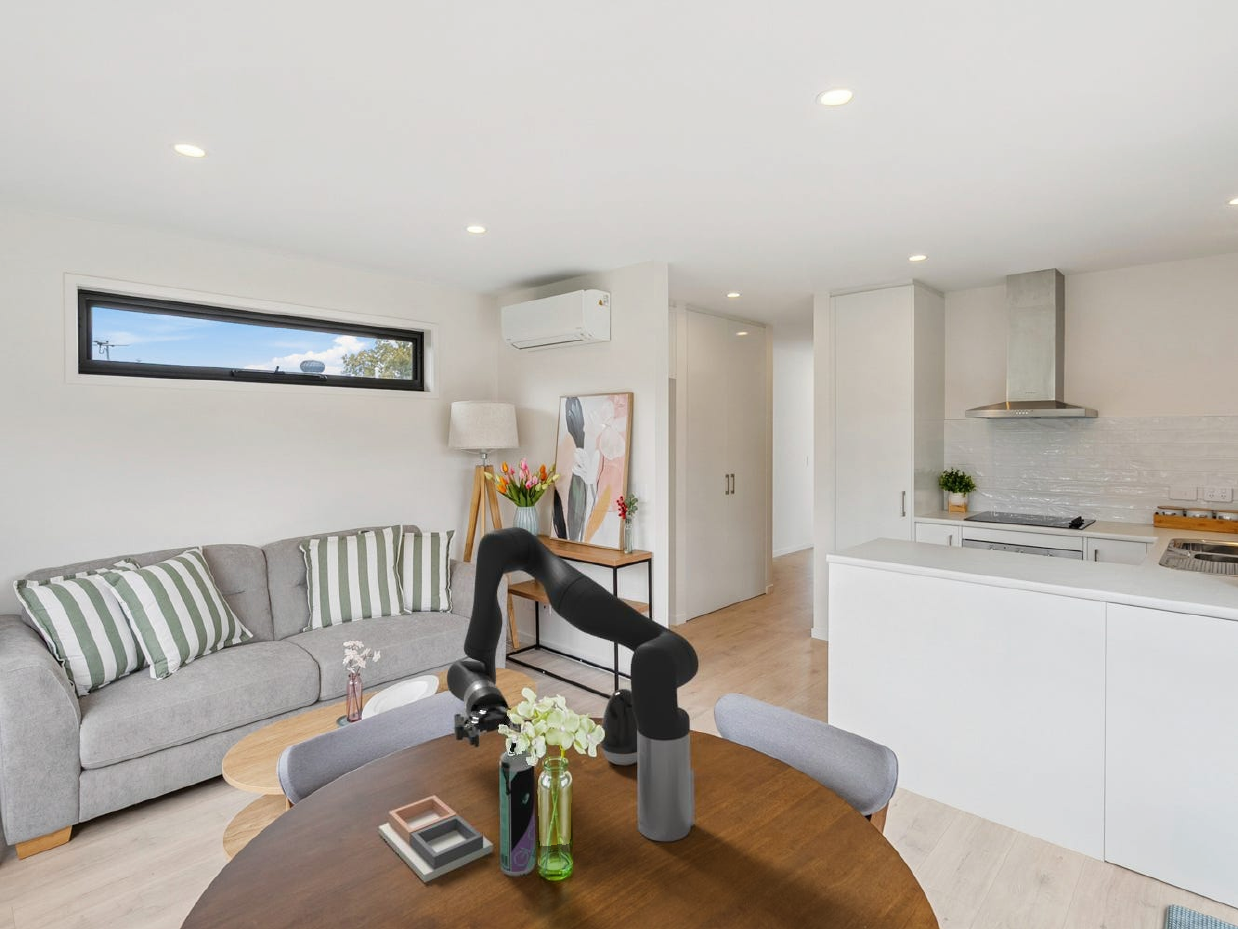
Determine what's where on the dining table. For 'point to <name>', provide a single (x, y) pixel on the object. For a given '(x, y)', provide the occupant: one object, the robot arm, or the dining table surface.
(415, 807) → the board
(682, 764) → the robot arm
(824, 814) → the dining table surface
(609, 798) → the dining table surface
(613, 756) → the black egg shaped dome
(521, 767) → the spray can
